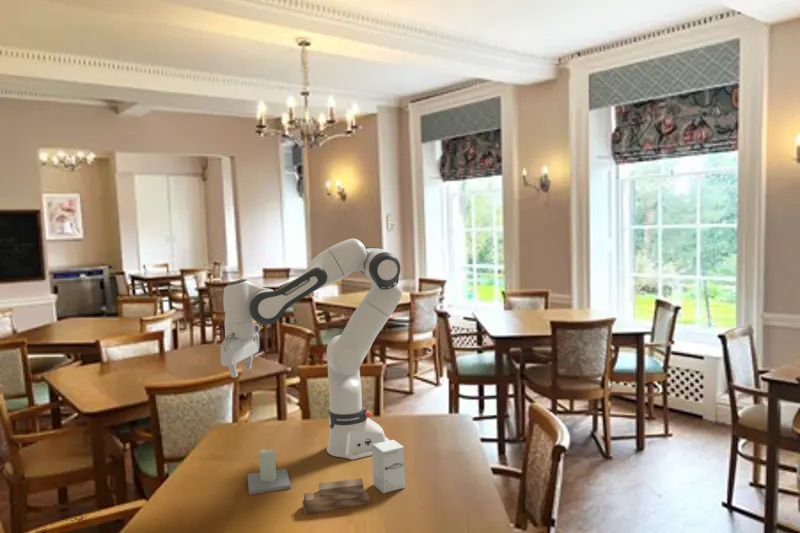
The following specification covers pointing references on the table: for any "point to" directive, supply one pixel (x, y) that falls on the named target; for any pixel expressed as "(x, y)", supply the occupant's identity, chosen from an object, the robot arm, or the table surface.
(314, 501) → the offcut stack
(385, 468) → the supplement box
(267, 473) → the tall block
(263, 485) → the slate mat
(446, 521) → the table surface
